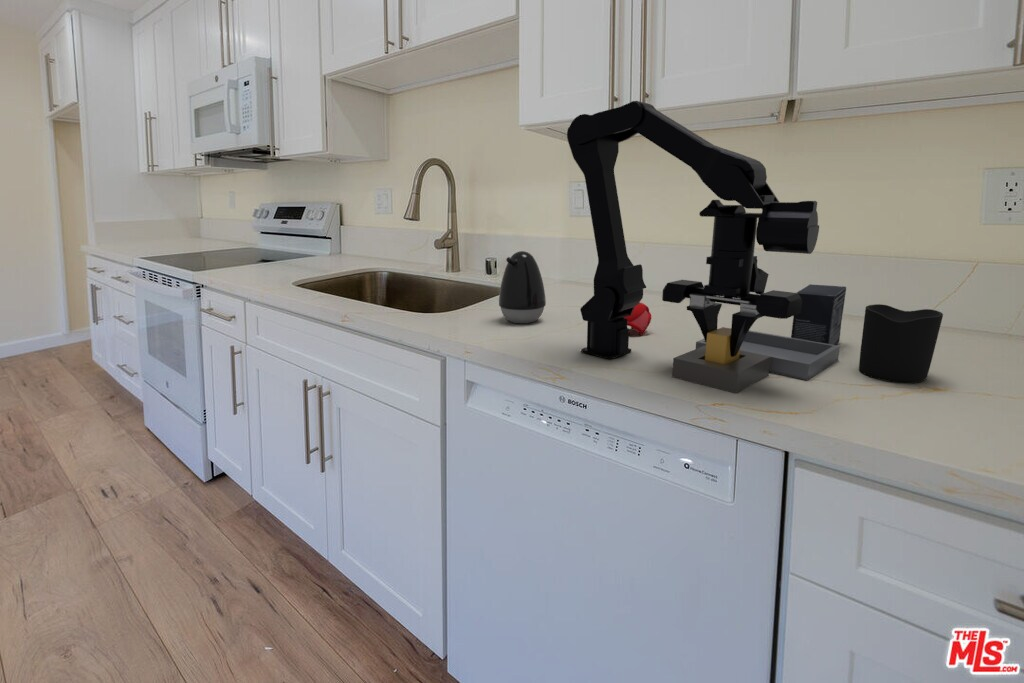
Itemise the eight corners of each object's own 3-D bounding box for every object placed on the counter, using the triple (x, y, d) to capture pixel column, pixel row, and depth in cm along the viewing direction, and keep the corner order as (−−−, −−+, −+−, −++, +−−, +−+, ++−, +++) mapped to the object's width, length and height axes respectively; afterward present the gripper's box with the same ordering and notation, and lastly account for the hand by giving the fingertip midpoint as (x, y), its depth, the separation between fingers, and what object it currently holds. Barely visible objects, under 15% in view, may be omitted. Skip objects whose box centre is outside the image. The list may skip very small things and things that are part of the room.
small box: (801, 337, 106) (808, 282, 103) (839, 342, 102) (848, 286, 99) (786, 349, 98) (794, 290, 95) (828, 355, 94) (837, 295, 91)
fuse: (703, 377, 83) (707, 332, 81) (718, 370, 87) (722, 327, 85) (722, 382, 81) (726, 336, 79) (737, 374, 85) (742, 330, 83)
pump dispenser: (489, 322, 119) (487, 252, 115) (516, 313, 128) (515, 247, 124) (528, 328, 114) (528, 254, 110) (554, 319, 122) (555, 250, 118)
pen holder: (893, 363, 89) (904, 303, 87) (946, 382, 80) (960, 315, 78) (841, 366, 88) (851, 305, 85) (889, 386, 79) (901, 318, 76)
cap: (643, 311, 114) (619, 297, 112) (659, 307, 108) (634, 292, 107) (628, 345, 112) (604, 332, 111) (643, 343, 106) (618, 328, 105)
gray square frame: (672, 376, 84) (673, 358, 83) (707, 361, 91) (708, 343, 90) (736, 393, 77) (738, 372, 76) (768, 375, 84) (770, 356, 83)
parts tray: (694, 355, 94) (696, 341, 94) (732, 340, 103) (733, 327, 103) (807, 380, 82) (809, 364, 81) (837, 360, 91) (840, 345, 90)
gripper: (822, 249, 78) (808, 355, 82) (699, 241, 91) (692, 333, 95) (792, 256, 70) (778, 372, 74) (663, 247, 83) (657, 346, 87)
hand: (722, 353), depth 83 cm, fingers closed on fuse, 3 cm apart
